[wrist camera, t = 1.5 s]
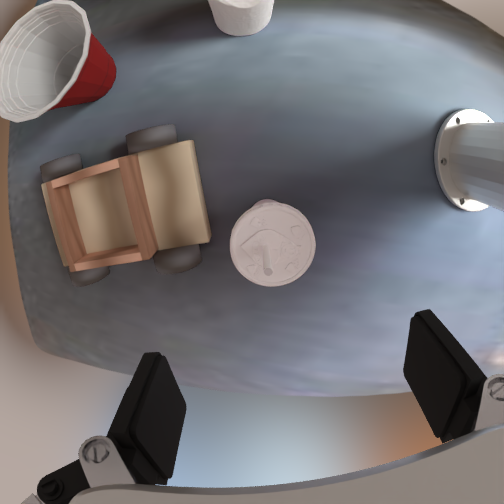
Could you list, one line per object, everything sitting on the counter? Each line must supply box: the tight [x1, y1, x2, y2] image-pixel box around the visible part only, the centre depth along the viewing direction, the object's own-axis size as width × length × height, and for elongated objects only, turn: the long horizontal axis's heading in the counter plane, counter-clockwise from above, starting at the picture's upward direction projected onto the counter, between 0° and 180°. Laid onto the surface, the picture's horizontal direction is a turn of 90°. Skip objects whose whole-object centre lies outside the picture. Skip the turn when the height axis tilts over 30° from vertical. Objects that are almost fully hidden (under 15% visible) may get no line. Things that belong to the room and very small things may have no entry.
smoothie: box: [230, 199, 315, 286], centre depth 25 cm, size 6×6×14 cm
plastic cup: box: [0, 0, 116, 123], centre depth 20 cm, size 11×11×12 cm
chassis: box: [40, 124, 212, 287], centre depth 28 cm, size 18×14×5 cm
